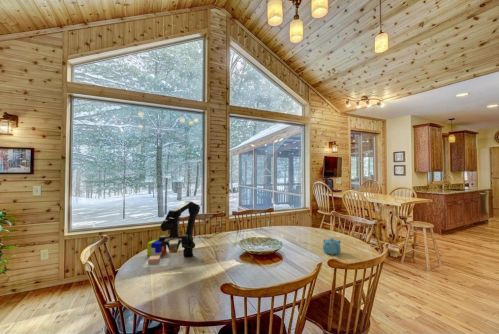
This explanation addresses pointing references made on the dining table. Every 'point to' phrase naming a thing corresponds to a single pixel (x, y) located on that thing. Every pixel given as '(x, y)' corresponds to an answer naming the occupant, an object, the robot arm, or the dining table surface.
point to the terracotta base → (154, 259)
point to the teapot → (331, 246)
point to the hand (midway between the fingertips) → (173, 250)
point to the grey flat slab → (162, 263)
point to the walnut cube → (173, 248)
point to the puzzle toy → (156, 248)
